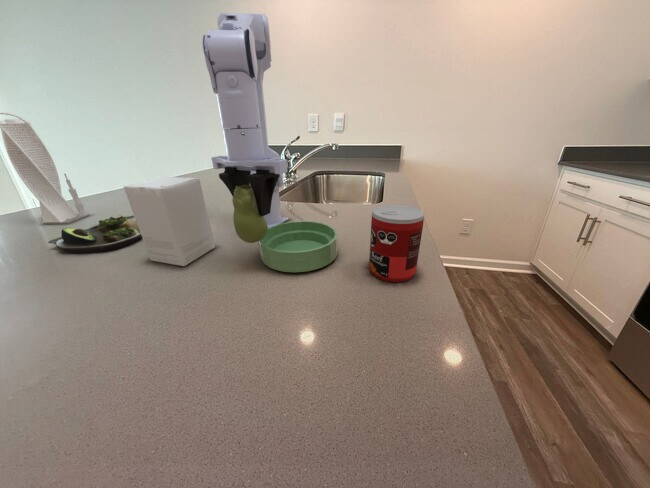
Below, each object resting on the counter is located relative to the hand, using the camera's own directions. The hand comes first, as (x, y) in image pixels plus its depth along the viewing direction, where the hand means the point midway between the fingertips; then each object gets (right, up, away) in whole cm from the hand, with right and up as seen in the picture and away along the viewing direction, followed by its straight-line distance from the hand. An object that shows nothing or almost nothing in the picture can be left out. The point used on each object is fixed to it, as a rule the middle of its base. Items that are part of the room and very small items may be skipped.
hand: (254, 212), depth 46 cm
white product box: (-17, -8, +8) cm, 20 cm away
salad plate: (-39, -4, +16) cm, 43 cm away
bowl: (+7, -8, +6) cm, 12 cm away
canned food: (+24, -11, 0) cm, 26 cm away
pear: (0, -5, 0) cm, 5 cm away
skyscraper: (-63, +1, +29) cm, 70 cm away
